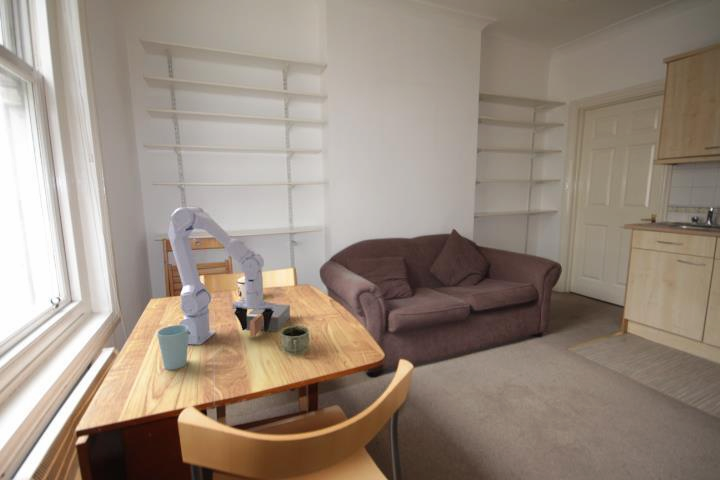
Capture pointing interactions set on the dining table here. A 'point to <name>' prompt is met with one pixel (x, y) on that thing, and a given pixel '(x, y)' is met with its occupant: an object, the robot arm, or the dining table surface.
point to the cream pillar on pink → (256, 324)
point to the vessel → (295, 340)
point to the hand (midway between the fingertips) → (255, 329)
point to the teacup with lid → (241, 288)
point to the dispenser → (277, 317)
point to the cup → (173, 346)
